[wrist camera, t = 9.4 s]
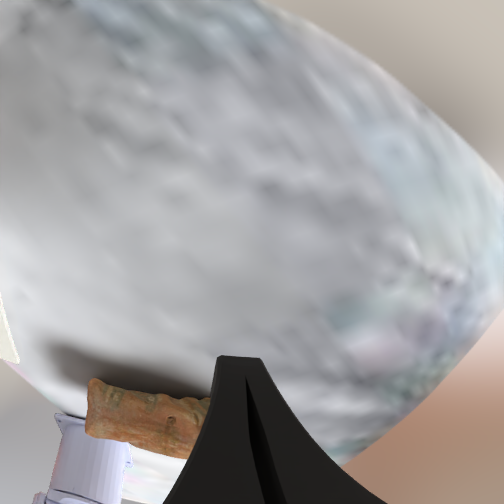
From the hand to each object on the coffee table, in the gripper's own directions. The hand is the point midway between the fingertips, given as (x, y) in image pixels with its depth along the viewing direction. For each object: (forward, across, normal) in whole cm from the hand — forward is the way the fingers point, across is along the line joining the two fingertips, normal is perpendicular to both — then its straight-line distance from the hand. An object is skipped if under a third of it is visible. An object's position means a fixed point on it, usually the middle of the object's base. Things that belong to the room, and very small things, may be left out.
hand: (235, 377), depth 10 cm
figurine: (+5, +9, +14) cm, 17 cm away
